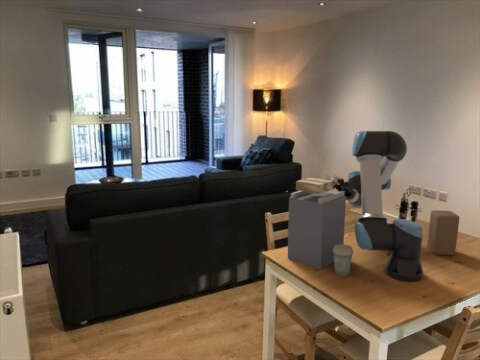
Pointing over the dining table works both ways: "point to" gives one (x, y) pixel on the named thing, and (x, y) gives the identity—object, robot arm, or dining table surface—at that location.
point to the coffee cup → (342, 259)
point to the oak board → (315, 185)
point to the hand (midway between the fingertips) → (329, 177)
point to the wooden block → (443, 232)
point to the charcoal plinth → (315, 227)
